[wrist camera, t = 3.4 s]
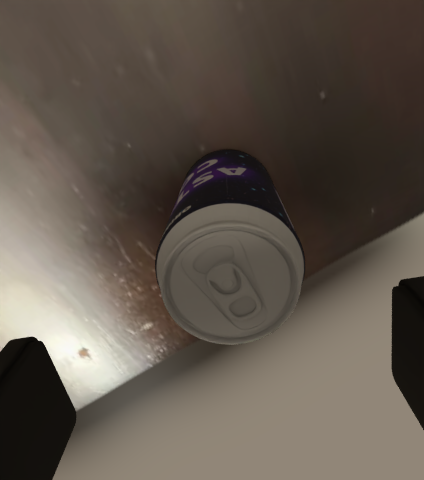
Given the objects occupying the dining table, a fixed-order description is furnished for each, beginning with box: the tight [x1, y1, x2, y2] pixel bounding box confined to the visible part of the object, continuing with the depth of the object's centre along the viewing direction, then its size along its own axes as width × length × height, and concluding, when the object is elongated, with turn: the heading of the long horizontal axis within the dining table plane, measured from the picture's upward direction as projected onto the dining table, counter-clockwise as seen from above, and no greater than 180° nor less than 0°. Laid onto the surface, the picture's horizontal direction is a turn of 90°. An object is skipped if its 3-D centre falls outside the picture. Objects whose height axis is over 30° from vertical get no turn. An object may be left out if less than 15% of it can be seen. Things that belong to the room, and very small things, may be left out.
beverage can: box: [155, 150, 305, 345], centre depth 18 cm, size 6×6×12 cm
